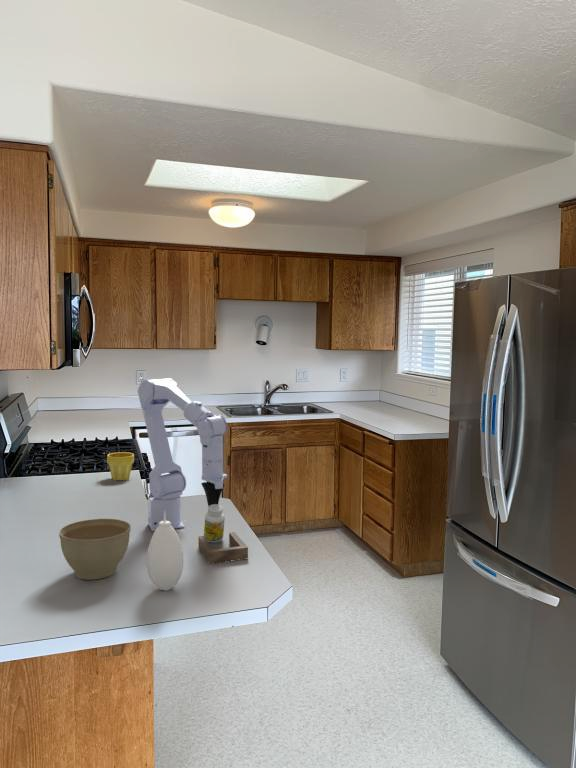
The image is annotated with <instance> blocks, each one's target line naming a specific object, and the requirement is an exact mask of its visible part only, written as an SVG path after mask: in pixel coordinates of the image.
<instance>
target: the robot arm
mask: <svg viewBox="0 0 576 768" xmlns="http://www.w3.org/2000/svg"><path fill="white" fill-rule="evenodd" d="M178 386H179V385H178V383H177V382H176V381H175V380H173V378H171V377H166V378H157V379H142V380H141V382H140V384H139V386H138V388H137V394H138V398H139V403H140V408H141V409H142V415H143V418H144V423H145V426H146V431H147V432H146V433H147V436H148V440H149V444H150V449H151V453H152V459H153V463H154V467H153V468H152V469H151V471H150V472H149V473H148V479H149V485H148V487H149V491H150V493H151V495H152V496H153V497H149V498H148V502H147V508H148V509H147V511H148V513H147V514H148V516H147V523H148V526H149V528H150V530H151V532H155V531H156V529H157V528H158V527H159V522H161V521H164V510H165V513H166V521H170V522H171V526H172V527H173V528H174V529H179V528H180V529H181V528H184V527H185V525H184V523H183V522H182V520H181V519H182V518H181V517H182V516H181V515H182V514H181V512H182V509H181V504H182V503H181V502H182V501H181V496H183V492H184V491H185V490H186V487H187V479H186V476H185V474H184V473H183V471H182V467H181V466H180V465H178V464H177V463H175V461H173V455H172V452H171V448H170V447H171V446H170V443H169V438H168V434H167V430H166V426H165V421H164V417H163V410H164V408H165V407H167V405H168V404H169V403H172V404H173V405H175V406H176V407H178V409H180V410H182V412H183V416H184V418H185V419H186V420H187V421H188V422H189V423H191V424H192V425H193V426H195V428H196V430H197V433H198V435H199V442H200V445H201V459H202V460H201V461H202V462H201V468H202V469H201V480H202V481H205V482H201V483H200V484H201V486H202V488H203V491H204V493H205V497H206V503H207V506H208V507H209V506H210V505H212V504H218V505H219V503H220V498H221V495H222V491H223V490H224V488H225V484H224V479H227V478H228V474H226V473H224V436H225V435H226V433H227V431H228V422H227V420H226V419H225V417H224V416H223V415H221V414H217V415H216V414H213V412H212V411H211V410H209V409H208V408H206V407H205V406H204V405H203V403H202V402H201V401H191V399H190V398H188V396H186V394H184V393H183V392H182V390H181V389H180V388H179V387H178ZM162 474H163V475H162ZM208 507H207V508H208Z"/></svg>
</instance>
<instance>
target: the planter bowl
mask: <svg viewBox="0 0 576 768" xmlns="http://www.w3.org/2000/svg"><path fill="white" fill-rule="evenodd" d="M130 533H131V524H130V523H129V522H128V521H126V520H122V519H118V518H117V519H116V518H91V519H84V520H79V521H75V522H71V523H69V524H67V525H64V526H62V527H61V528H60V529H59V531H58V535H59V539H60V547H61V551H62V553H63V556H64V559H65V560H66V563H67V564H68V565H69V567H70V568H71V569H72V570H73V572H74V576H75V577H76V578H79V579H80V580H81V579H82V580H99V579H104V578H107V577H110V576H112V575H114V574H116V572H117V570H118V569H117V568H118V566H119V564H120V563H121V562H122V560H123V558H124V557H125V554H126V553H127V550H128V548H129V547H128V546H129V542H130Z"/></svg>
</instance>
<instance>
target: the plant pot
mask: <svg viewBox="0 0 576 768" xmlns="http://www.w3.org/2000/svg"><path fill="white" fill-rule="evenodd" d="M106 460H107V461H106V464H108V465H109V466H108V467H109V471H110V475H111V480H112V479H113V480H112V481H116V480H123V481H127V480H126V479H128V480H130V477H131V471H132V467H133V464H134V462H135V454H134V453H132V452H129V451H128V452H127V451H121V452H119V451H118V452H112V453H108V454H107V455H106Z"/></svg>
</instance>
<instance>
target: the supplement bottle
mask: <svg viewBox="0 0 576 768" xmlns="http://www.w3.org/2000/svg"><path fill="white" fill-rule="evenodd" d="M223 510H224V509H223V506H222V505H221V504H219V503H218V504H212V505H210V506H209V507H207V512H206V514H205V515H204V525H203V526H204V527H203V528H204V529H203V536H205V538H206V539H207V541H208V542H209V543H210V544H211V543H213V544H215V543H220V542H221V541H222V540H223V538H224V531H225V530H224V529H225V514H224V513H223V512H224V511H223Z"/></svg>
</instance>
